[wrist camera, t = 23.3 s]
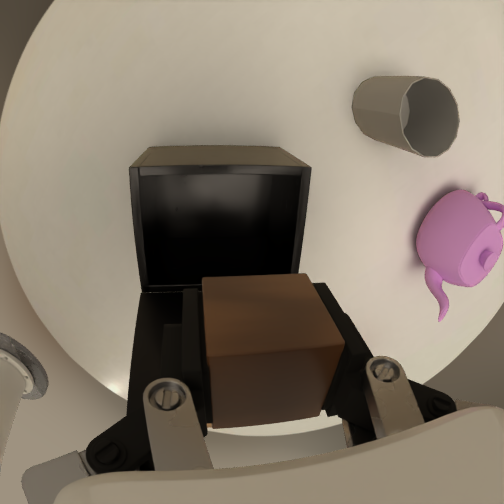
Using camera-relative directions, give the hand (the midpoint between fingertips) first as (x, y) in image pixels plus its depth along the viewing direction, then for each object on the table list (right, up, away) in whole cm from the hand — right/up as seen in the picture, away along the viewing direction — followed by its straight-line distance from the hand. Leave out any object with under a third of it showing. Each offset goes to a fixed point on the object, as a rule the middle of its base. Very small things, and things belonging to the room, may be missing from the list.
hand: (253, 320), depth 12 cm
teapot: (+30, +6, +32) cm, 44 cm away
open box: (-4, +9, +24) cm, 26 cm away
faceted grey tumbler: (+16, +20, +22) cm, 34 cm away
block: (0, 0, 0) cm, 0 cm away
